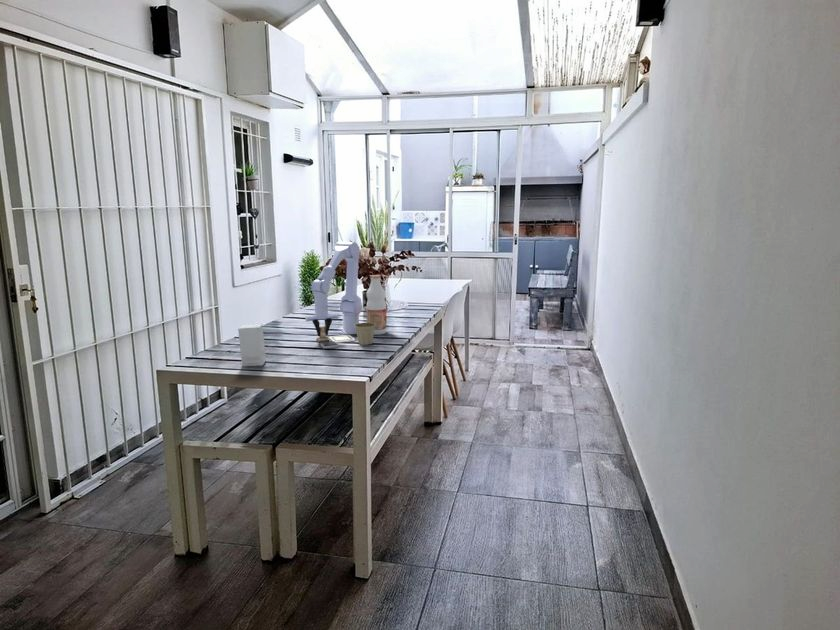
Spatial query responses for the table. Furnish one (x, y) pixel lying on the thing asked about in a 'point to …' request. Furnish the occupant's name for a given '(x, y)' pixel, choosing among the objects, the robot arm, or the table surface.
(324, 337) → the stamp
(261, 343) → the skincare box
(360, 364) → the table surface
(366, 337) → the flower pot
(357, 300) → the robot arm
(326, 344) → the ink pad
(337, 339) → the print card
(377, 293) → the fruit juice
